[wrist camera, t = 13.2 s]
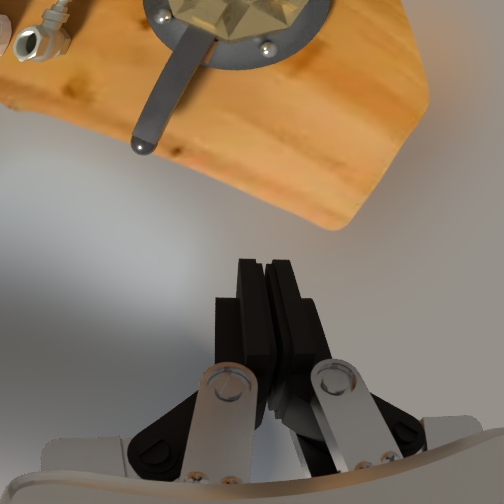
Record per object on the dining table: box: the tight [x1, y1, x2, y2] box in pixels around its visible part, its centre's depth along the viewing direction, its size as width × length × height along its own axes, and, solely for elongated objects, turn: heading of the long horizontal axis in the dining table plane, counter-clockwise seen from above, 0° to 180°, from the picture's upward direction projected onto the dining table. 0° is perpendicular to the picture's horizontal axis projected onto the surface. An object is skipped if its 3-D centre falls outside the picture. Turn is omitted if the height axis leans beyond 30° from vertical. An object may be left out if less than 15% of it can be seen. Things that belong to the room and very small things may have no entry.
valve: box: [13, 0, 72, 62], centre depth 19 cm, size 7×7×12 cm
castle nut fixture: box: [131, 0, 309, 155], centre depth 21 cm, size 25×12×7 cm, turn 150°
